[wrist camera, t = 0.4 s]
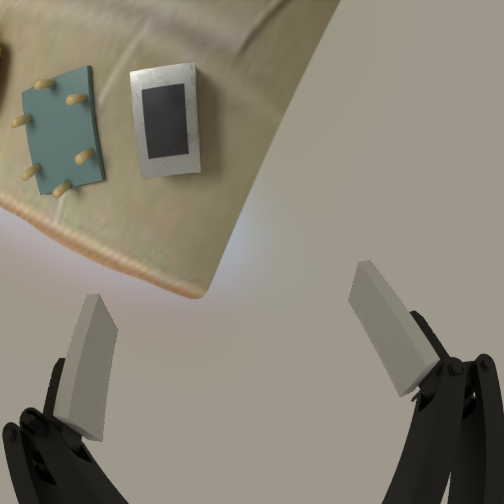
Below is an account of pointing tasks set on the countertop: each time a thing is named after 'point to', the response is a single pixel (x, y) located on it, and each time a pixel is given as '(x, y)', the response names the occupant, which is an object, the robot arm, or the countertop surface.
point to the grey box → (166, 120)
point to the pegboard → (62, 132)
